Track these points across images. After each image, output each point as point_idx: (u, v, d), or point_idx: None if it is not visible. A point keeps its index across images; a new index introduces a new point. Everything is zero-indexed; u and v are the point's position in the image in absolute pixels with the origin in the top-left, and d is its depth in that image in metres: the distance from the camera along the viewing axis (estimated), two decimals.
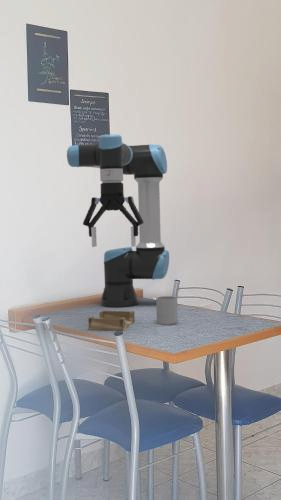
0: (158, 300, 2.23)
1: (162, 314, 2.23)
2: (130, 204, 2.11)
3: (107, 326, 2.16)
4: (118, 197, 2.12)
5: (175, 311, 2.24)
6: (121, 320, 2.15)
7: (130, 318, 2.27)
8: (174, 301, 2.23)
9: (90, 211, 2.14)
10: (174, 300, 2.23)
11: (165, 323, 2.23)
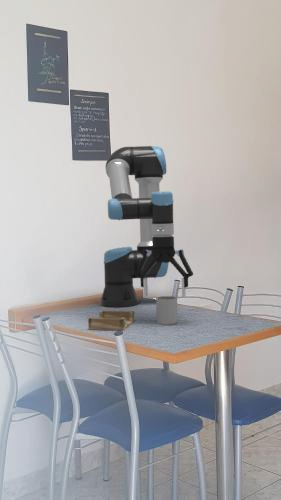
0: (158, 300, 2.23)
1: (162, 314, 2.23)
2: (181, 257, 2.23)
3: (107, 326, 2.16)
4: (169, 250, 2.23)
5: (175, 311, 2.24)
6: (121, 320, 2.15)
7: (130, 318, 2.27)
8: (174, 301, 2.23)
9: (142, 263, 2.26)
10: (174, 300, 2.23)
11: (165, 323, 2.23)
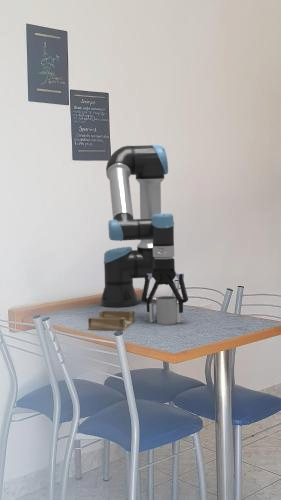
0: (158, 300, 2.23)
1: (162, 314, 2.23)
2: (180, 281, 2.23)
3: (107, 326, 2.16)
4: (170, 272, 2.24)
5: (175, 311, 2.24)
6: (121, 320, 2.15)
7: (130, 318, 2.27)
8: (174, 301, 2.23)
9: (145, 287, 2.27)
10: (174, 300, 2.23)
11: (165, 323, 2.23)
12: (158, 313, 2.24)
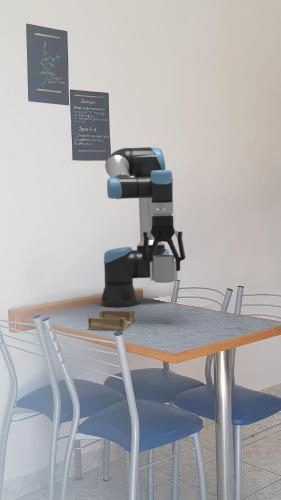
0: (155, 258, 2.23)
1: (159, 272, 2.22)
2: (178, 239, 2.22)
3: (107, 326, 2.16)
4: (169, 229, 2.23)
5: (172, 269, 2.23)
6: (121, 320, 2.15)
7: (130, 318, 2.27)
8: (171, 259, 2.22)
9: (145, 245, 2.25)
10: (171, 258, 2.22)
11: (162, 281, 2.22)
12: (155, 271, 2.23)
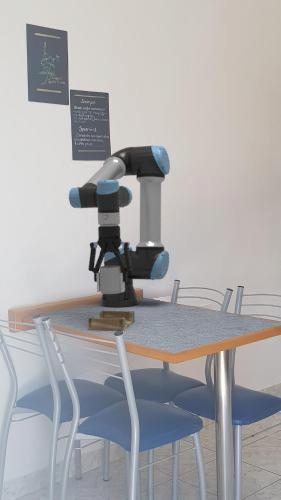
0: (101, 269, 2.19)
1: (105, 283, 2.19)
2: (125, 250, 2.19)
3: (107, 326, 2.16)
4: (116, 239, 2.20)
5: (118, 280, 2.19)
6: (121, 320, 2.15)
7: (130, 318, 2.27)
8: (117, 270, 2.19)
9: (92, 256, 2.22)
10: (117, 269, 2.19)
11: (108, 292, 2.18)
12: (101, 282, 2.20)
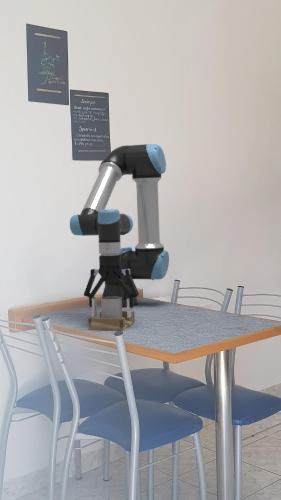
0: (102, 300, 2.20)
1: (106, 315, 2.20)
2: (127, 277, 2.20)
3: (107, 326, 2.16)
4: (116, 269, 2.21)
5: (119, 311, 2.21)
6: (121, 320, 2.15)
7: (130, 318, 2.27)
8: (118, 301, 2.20)
9: (90, 282, 2.23)
10: (118, 300, 2.20)
11: None
12: (102, 313, 2.21)
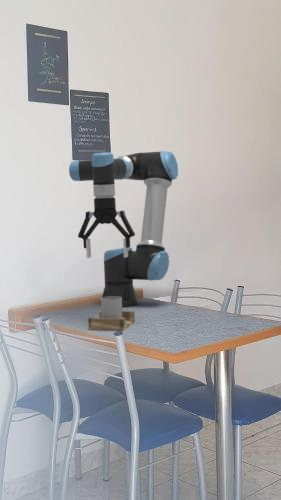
0: (102, 300, 2.20)
1: (106, 315, 2.20)
2: (122, 218, 2.25)
3: (107, 326, 2.16)
4: (111, 211, 2.26)
5: (119, 311, 2.21)
6: (121, 320, 2.15)
7: (130, 318, 2.27)
8: (118, 301, 2.20)
9: (84, 224, 2.28)
10: (118, 300, 2.20)
11: None
12: (102, 313, 2.21)
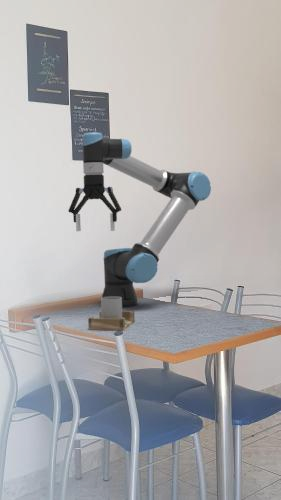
0: (102, 300, 2.20)
1: (106, 315, 2.20)
2: (109, 193, 2.41)
3: (107, 326, 2.16)
4: (99, 187, 2.41)
5: (119, 311, 2.21)
6: (121, 320, 2.15)
7: (130, 318, 2.27)
8: (118, 301, 2.20)
9: (75, 200, 2.44)
10: (118, 300, 2.20)
11: None
12: (102, 313, 2.21)
